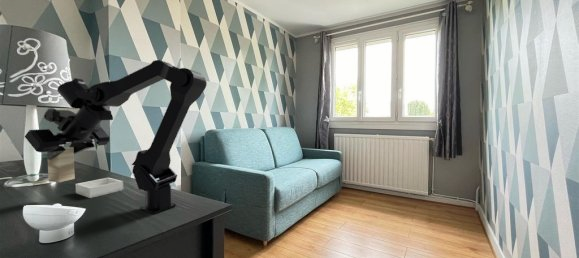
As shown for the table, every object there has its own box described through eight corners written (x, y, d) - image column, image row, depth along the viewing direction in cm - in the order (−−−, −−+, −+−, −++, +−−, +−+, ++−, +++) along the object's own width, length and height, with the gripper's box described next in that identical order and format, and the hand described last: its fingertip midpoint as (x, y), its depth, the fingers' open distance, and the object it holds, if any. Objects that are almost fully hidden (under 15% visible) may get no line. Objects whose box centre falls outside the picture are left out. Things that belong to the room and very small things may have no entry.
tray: (123, 190, 80) (123, 181, 80) (90, 198, 72) (89, 188, 72) (108, 186, 84) (108, 177, 84) (75, 193, 76) (75, 183, 76)
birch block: (74, 178, 72) (73, 147, 71) (59, 182, 68) (58, 149, 67) (64, 177, 73) (62, 146, 72) (48, 181, 69) (47, 148, 68)
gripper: (101, 102, 77) (75, 135, 80) (28, 97, 59) (-3, 140, 62) (122, 126, 76) (95, 159, 79) (55, 129, 58) (22, 172, 61)
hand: (57, 157), depth 70 cm, fingers closed on birch block, 4 cm apart
